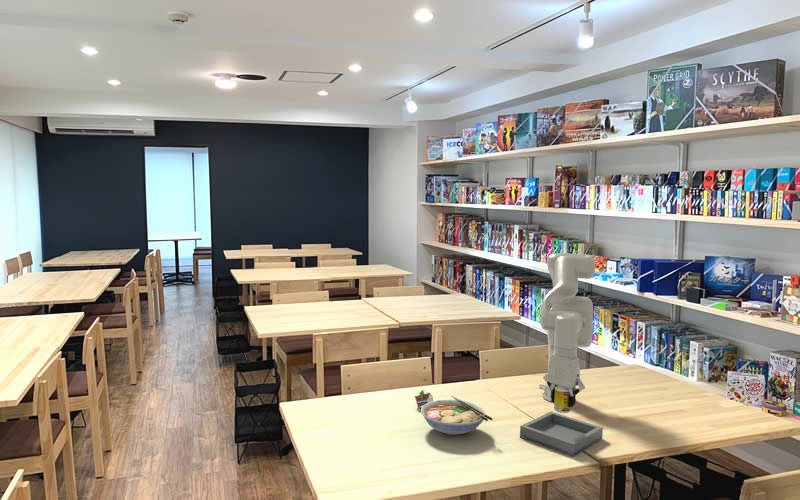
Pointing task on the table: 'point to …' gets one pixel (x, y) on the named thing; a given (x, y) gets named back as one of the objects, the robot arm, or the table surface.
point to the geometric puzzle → (423, 398)
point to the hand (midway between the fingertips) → (562, 403)
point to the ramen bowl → (453, 416)
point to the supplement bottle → (561, 399)
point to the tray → (561, 433)
